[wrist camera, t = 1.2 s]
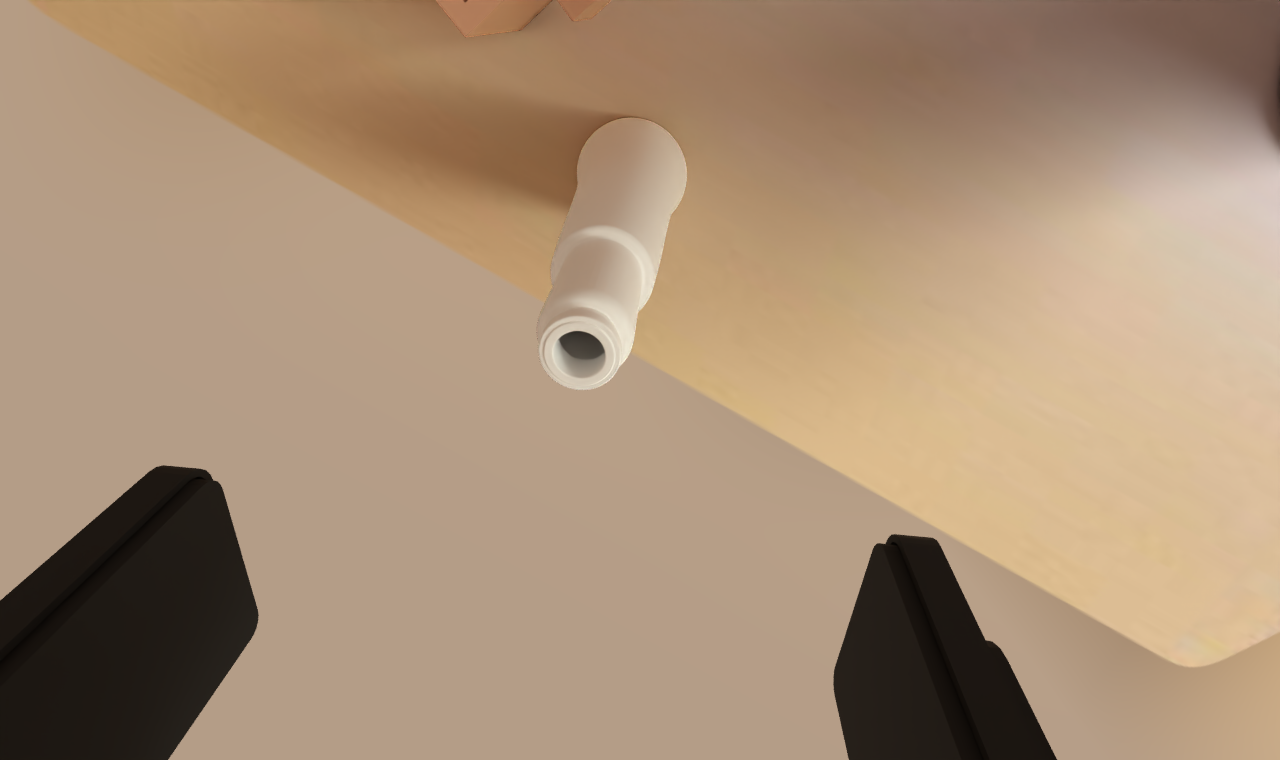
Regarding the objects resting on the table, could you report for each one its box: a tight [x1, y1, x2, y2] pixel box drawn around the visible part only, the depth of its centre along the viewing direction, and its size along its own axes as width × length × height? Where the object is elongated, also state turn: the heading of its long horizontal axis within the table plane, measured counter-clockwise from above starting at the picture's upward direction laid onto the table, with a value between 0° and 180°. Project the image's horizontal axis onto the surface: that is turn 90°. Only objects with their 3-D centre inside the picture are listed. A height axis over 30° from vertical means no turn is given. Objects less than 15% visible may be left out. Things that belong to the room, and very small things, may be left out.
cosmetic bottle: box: [537, 117, 687, 390], centre depth 27 cm, size 6×6×22 cm
